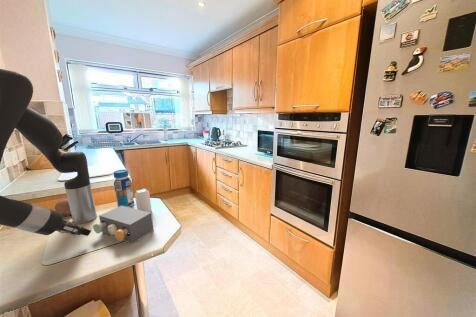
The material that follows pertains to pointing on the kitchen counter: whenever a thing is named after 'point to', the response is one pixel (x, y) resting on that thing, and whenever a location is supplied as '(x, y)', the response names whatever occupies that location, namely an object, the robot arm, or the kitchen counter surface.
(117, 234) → the button orange
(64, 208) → the onion
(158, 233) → the kitchen counter surface
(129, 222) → the control box
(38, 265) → the kitchen counter surface
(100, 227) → the button green
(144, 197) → the can
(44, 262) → the kitchen counter surface
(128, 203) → the beverage bottle
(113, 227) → the button cream
